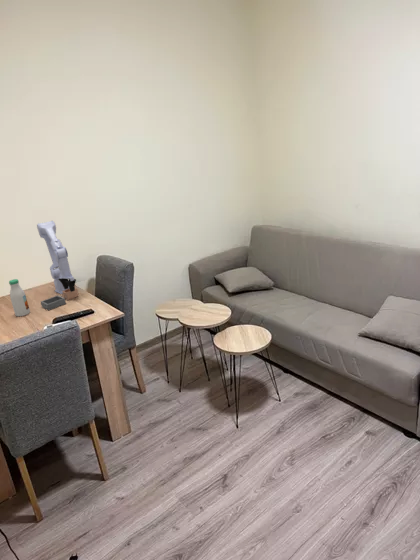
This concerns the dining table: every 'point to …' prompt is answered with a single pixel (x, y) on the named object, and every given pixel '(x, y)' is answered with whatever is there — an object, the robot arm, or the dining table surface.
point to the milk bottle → (18, 299)
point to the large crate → (53, 302)
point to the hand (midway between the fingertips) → (69, 289)
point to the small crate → (70, 294)
